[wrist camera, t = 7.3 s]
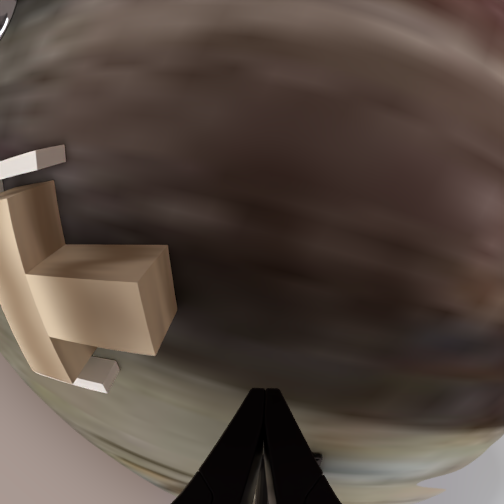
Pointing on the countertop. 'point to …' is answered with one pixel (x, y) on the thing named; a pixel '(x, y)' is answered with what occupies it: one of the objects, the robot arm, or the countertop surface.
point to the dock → (96, 369)
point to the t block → (76, 288)
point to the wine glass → (6, 14)
